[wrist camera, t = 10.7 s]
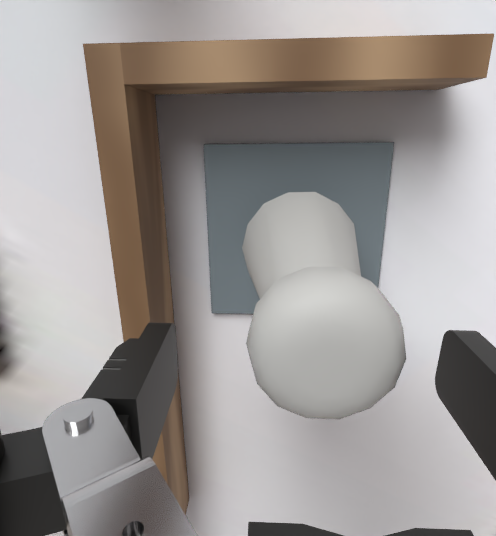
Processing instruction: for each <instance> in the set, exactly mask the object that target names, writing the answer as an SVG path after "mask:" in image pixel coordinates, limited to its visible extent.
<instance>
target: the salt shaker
mask: <svg viewBox="0 0 496 536" xmlns="http://www.w3.org/2000/svg"><path fill="white" fill-rule="evenodd" d="M242 250H243V253H244V257H245V261H246V265H247V269H248V272H249V275H250V277H251V279H252V282H253V284H254V286H255V289H256V291H257V293H258V296H259V298H260V300H259V301H258V302H257V303H256V306H255V310H254V313H253V317H252V321H251V325H250V329H249V333H248V338H247V343H246V344H247V348H248V352H249V356H250V360H251V363H252V367H253V370H254V374H255V377H256V381H257V384H258V385H259V386H260V387H261V388H262V390H263V391H264V392H265V393H266V394H267V395H268V396H269V397H270V398H271V399H272V401H273V402H274V403H275V404H276V405H277V406H279V407H281V408H283V409H286V410H288V411H291V412H293V413H296V414H298V415H301V416H303V417H305V418H320V419H341V418H344V417H347V416H350V415H352V414H355V413H358V412H361V411H364V410H366V409H369V408H371V407H372V406H373V405H374V404H376V403H377V402H378V401H379V400H380V399H381V398H383V397H384V396H385V395H386V394H387V393H388V392H390V391H391V390H392V389H393V388H394V387H395V385H396V382H397V380H398V378H399V375H400V373H401V370H402V368H403V365H404V363H405V360H406V353H405V343H404V334H403V327H402V323H401V320H400V317H399V314H398V313H397V312H396V311H395V309H394V308H393V307H392V305H391V304H390V303H389V302H388V300H387V299H386V298H385V296H384V295H383V294H382V293H381V291H380V290H379V289H378V288H377V287H376V286H375V285H374V284H373V283H372V281H370V280H367V279H365V278H363V277H361V272H360V264H359V257H358V250H357V242H356V235H355V228H354V223H353V222H352V221H351V219H350V218H349V217H348V216H347V214H346V213H345V212H344V210H343V209H342V208H341V207H340V205H339V204H338V203H336V202H334V201H332V200H330V199H328V198H326V197H324V196H322V195H320V194H318V193H317V192H288V193H286V194H283V195H281V196H279V197H277V198H275V199H273V200H270V201H268V202H266V203H264V204H263V205H262V206H261V208H260V209H259V210H258V212H257V213H256V214H255V215H254V217H253V218H252V219H251V221H250V222H249V223H248V225H247V229H246V233H245V238H244V242H243V246H242Z"/></svg>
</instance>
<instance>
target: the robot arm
mask: <svg viewBox="0 0 496 536" xmlns="http://www.w3.org/2000/svg"><path fill="white" fill-rule="evenodd" d="M177 379H178V361H177V344H176V329H175V325H174V323H152V322H149V323H148V324H147V326H146V327H145V329H144V331H143V332H142V334H141V336H140V337H139V338H129V339H128V340H127V341H125V342H124V343H122V344H121V345H119V346H118V347H116V349H115V350H114V352H113V353H112V355H111V356H110V358H109V360H108V361H107V362H106V364H105V365H104V366H103V370H101V371H100V372H99V374H98V375H97V377H96V378H95V380H94V381H93V383H92V384H91V386H90V387H89V389H88V390H87V391H86V393H85V394H84V396H83V397H82V399H80V400H76V401H72V402H70V403H67V404H65V405H63V406H61V407H59V408H58V409H56V410H55V411H54V412H52V413H51V414H50V415H49V416H48V417H47V419H46V420H45V422H44V424H43V427H40V428H36V429H32V430H27V431H21V432H16V433H11V434H6V435H1V431H0V536H45V535H49V534H52V533H56V532H60V531H63V534H64V536H198V535H197V534H196V532H195V530H194V529H193V527H192V525H191V524H190V522H189V520H188V519H187V517H186V515H185V513H184V512H183V510H182V508H181V507H180V505H179V503H178V502H177V500H176V498H175V496H174V495H173V493H172V491H171V490H170V488H169V486H168V485H167V483H166V481H165V479H164V478H163V476H162V474H161V473H160V471H159V469H158V468H157V466H156V464H155V463H154V461H153V460H152V458H153V456H154V453H155V450H156V447H157V444H158V441H159V438H160V435H161V432H162V429H163V426H164V423H165V420H166V417H167V414H168V411H169V408H170V405H171V402H172V399H173V396H174V393H175V390H176V386H177ZM435 385H436V390H437V394H438V396H439V398H440V399H441V401H442V402H443V404H444V405H445V407H446V408H447V410H448V411H449V413H450V414H451V416H452V417H453V419H454V420H455V421H456V423H457V424H458V426H459V427H460V429H461V430H462V432H463V433H464V435H465V436H466V438H467V439H468V441H469V442H470V443H471V445H472V446H473V448H474V449H475V451H476V452H477V454H478V455H479V457H480V458H481V460H482V461H483V463H484V464H485V465H486V467H487V468H488V470H489V471H490V473H491V474H492V476H493V477H494V479H495V480H496V348H495V347H494V346H493V345H492V344H491V343H490V342H489V341H487V340H486V339H485V338H484V337H483V336H482V335H481V334H480V333H478V332H477V331H459V330H449V331H447V332H446V333H445V334H444V337H443V341H442V346H441V351H440V356H439V361H438V366H437V371H436V376H435ZM248 536H343V535H340V534H336V533H333V532H329V531H326V530H322V529H319V528H315V527H312V526H308V525H305V524H292V523H266V522H249V524H248ZM385 536H474V535H473V534H472V532H471V530H452V529H425V528H414V529H410V530H406V531H402V532H398V533H394V534H390V535H385Z"/></svg>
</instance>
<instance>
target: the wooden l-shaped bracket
mask: <svg viewBox="0 0 496 536" xmlns="http://www.w3.org/2000/svg"><path fill="white" fill-rule="evenodd" d="M493 37H494V34H461V35H420V36H380V37H340V38H299V39H259V40H219V41H179V42H138V43H98V44H83V47H84V55H85V62H86V69H87V77H88V84H89V91H90V98H91V106H92V113H93V120H94V128H95V135H96V142H97V150H98V157H99V164H100V171H101V179H102V186H103V193H104V201H105V208H106V215H107V222H108V230H109V237H110V244H111V252H112V259H113V266H114V274H115V281H116V288H117V295H118V303H119V310H120V317H121V325H122V332H123V339H124V342H125V341H127V340H128V339H129V338H139V337H140V336H141V334H142V332H143V331H144V329H145V327H146V326H147V324H148V323H149V322H152V323H174V315H173V303H172V291H171V279H170V268H169V256H168V244H167V232H166V221H165V209H164V197H163V186H162V174H161V162H160V150H159V139H158V127H157V115H156V104H155V95H162V94H218V93H275V92H331V91H387V90H439V89H443V88H447V87H451V86H455V85H458V84H462V83H466V82H470V81H474V80H478V79H482V78H486V77H487V71H488V65H489V60H490V54H491V49H492V43H493ZM152 460H153V461H154V463H155V464H156V466H157V468H158V469H159V471H160V473H161V474H162V476H163V478H164V479H165V481H166V483H167V485H168V486H169V488H170V490H171V491H172V493H173V495H174V496H175V498H176V500H177V502H178V503H179V505H180V507H181V508H182V510H183V512H184V513H185V515H186V510H187V506H188V501H189V490H188V479H187V467H186V455H185V444H184V432H183V420H182V408H181V397H180V385H179V373H178V379H177V386H176V390H175V393H174V396H173V399H172V402H171V405H170V408H169V411H168V414H167V417H166V420H165V423H164V426H163V429H162V432H161V435H160V438H159V441H158V444H157V447H156V450H155V453H154V456H153V458H152Z"/></svg>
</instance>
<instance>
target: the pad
mask: <svg viewBox="0 0 496 536" xmlns="http://www.w3.org/2000/svg"><path fill="white" fill-rule="evenodd" d="M393 147H394V142H367V143H276V144H204V162H205V183H206V204H207V225H208V246H209V266H210V287H211V308H212V313H231V314H253V313H254V310H255V306H256V303H257V302H258V301H259V300H260V298H259V296H258V293H257V291H256V289H255V286H254V284H253V282H252V279H251V277H250V275H249V272H248V269H247V265H246V261H245V257H244V253H243V250H242V246H243V242H244V238H245V233H246V229H247V225H248V223H249V222H250V221H251V219H252V218H253V217H254V215H255V214H256V213H257V212H258V210H259V209H260V208H261V206H262V205H263V204H264V203H266V202H268V201H270V200H273V199H275V198H277V197H279V196H281V195H283V194H286V193H288V192H317V193H318V194H320V195H322V196H324V197H326V198H328V199H330V200H332V201H334V202H336V203H338V204H339V205H340V207H341V208H342V209H343V210H344V212H345V213H346V214H347V216H348V217H349V218H350V219H351V221H352V222H353V223H354V228H355V235H356V242H357V250H358V257H359V264H360V272H361V277H363V278H365V279H367V280H370V281H372V283H373V284H374V285H375V286H376V287H377V288H378V283H379V274H380V265H381V256H382V247H383V238H384V229H385V220H386V211H387V202H388V192H389V183H390V174H391V165H392V156H393Z"/></svg>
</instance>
